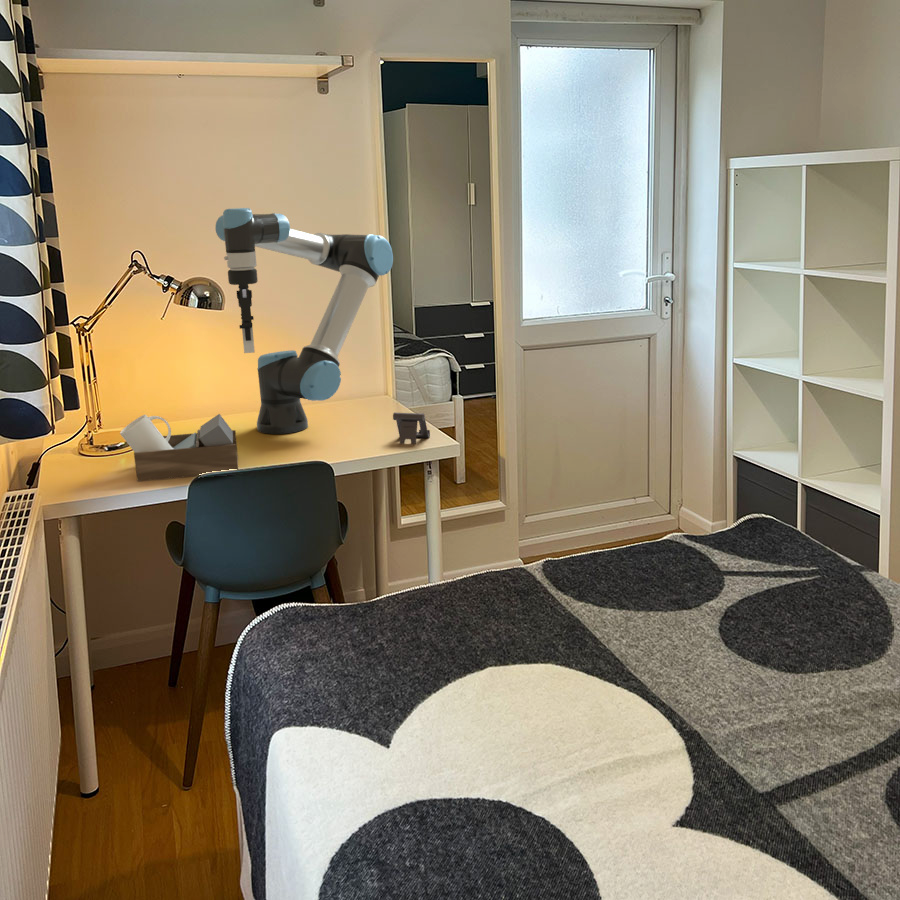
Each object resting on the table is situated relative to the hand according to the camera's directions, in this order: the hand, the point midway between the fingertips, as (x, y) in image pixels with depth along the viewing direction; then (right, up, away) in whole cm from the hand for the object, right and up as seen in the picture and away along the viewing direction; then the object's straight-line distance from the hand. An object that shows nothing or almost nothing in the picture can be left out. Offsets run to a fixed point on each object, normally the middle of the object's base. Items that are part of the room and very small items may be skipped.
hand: (249, 348), depth 265 cm
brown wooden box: (-14, -32, -7) cm, 36 cm away
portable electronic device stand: (+43, -25, +14) cm, 52 cm away
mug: (-20, -29, -8) cm, 36 cm away
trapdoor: (-12, -30, -7) cm, 33 cm away
